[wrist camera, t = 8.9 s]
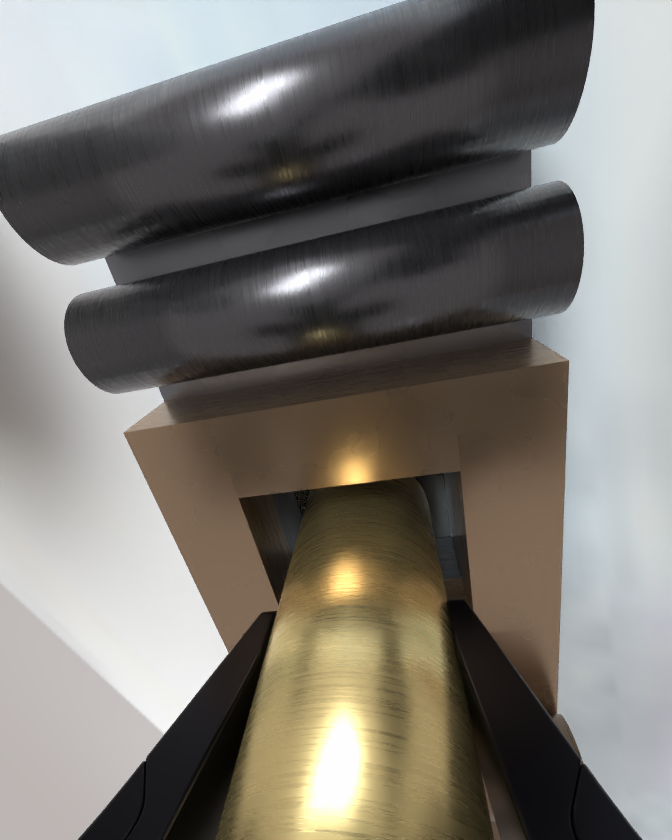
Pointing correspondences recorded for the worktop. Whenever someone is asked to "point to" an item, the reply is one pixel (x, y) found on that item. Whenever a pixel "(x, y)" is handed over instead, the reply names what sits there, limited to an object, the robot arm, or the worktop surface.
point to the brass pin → (360, 686)
